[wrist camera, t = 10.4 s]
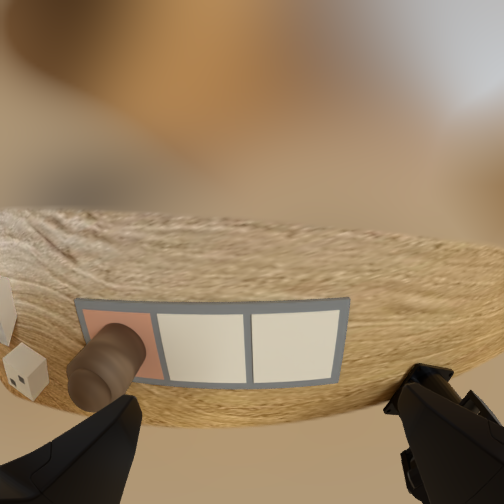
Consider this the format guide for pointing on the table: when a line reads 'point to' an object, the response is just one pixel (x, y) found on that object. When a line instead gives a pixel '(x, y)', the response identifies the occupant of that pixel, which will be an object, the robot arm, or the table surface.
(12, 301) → the figurine
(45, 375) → the cream box with slots
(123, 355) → the pawn
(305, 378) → the game board
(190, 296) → the table surface
